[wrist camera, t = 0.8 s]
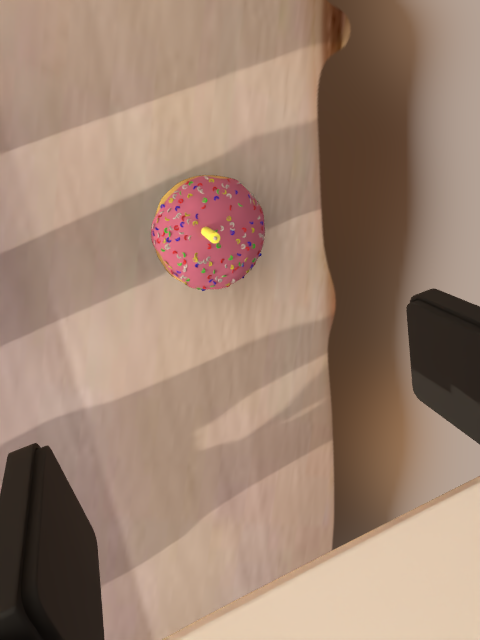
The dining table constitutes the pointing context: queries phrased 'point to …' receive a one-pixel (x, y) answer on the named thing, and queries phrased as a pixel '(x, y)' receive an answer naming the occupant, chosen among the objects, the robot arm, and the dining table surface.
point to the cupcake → (208, 231)
